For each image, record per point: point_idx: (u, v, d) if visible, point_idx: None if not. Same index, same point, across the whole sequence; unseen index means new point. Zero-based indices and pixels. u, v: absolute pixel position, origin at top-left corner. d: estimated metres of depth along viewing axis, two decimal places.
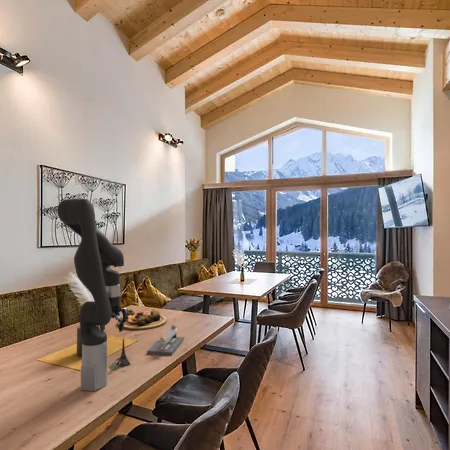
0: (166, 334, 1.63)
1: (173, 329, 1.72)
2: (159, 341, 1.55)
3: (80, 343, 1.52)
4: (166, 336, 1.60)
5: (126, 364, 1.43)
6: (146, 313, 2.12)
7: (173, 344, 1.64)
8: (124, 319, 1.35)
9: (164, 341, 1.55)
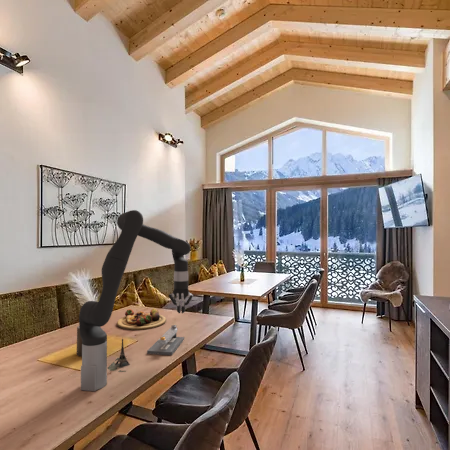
0: (166, 334, 1.63)
1: (173, 329, 1.72)
2: (159, 341, 1.55)
3: (80, 343, 1.52)
4: (166, 336, 1.60)
5: (125, 364, 1.43)
6: (145, 313, 2.12)
7: (173, 344, 1.64)
8: (186, 302, 1.59)
9: (164, 341, 1.55)
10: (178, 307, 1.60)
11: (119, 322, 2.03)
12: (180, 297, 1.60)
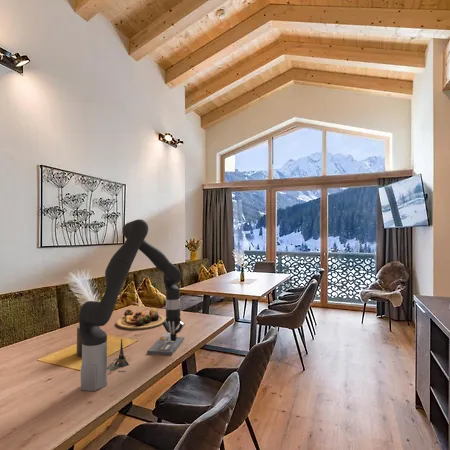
0: (166, 334, 1.63)
1: None
2: (158, 341, 1.55)
3: (80, 343, 1.52)
4: (165, 336, 1.60)
5: (124, 364, 1.43)
6: (144, 313, 2.12)
7: (173, 344, 1.64)
8: (176, 330, 1.59)
9: (163, 341, 1.55)
10: (171, 335, 1.60)
11: (118, 322, 2.03)
12: None
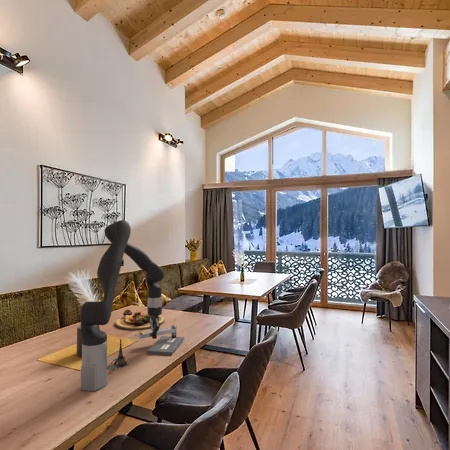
0: None
1: (169, 328, 1.73)
2: (137, 334, 1.65)
3: (80, 343, 1.52)
4: (149, 332, 1.67)
5: (123, 364, 1.43)
6: (144, 313, 2.12)
7: (173, 344, 1.64)
8: (153, 328, 1.62)
9: (139, 335, 1.63)
10: (152, 332, 1.65)
11: (117, 322, 2.03)
12: None
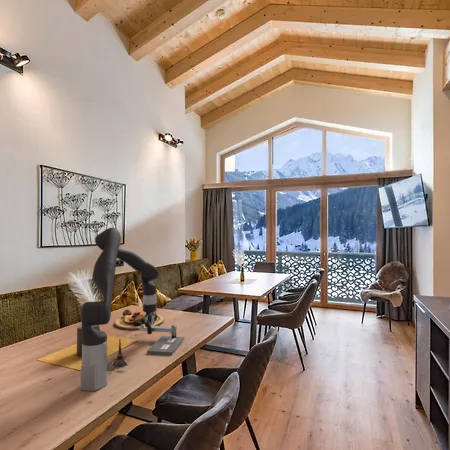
0: (154, 326, 1.77)
1: (168, 327, 1.75)
2: None
3: (80, 343, 1.52)
4: None
5: (123, 365, 1.43)
6: (143, 313, 2.12)
7: (173, 344, 1.64)
8: None
9: None
10: None
11: (116, 322, 2.03)
12: None
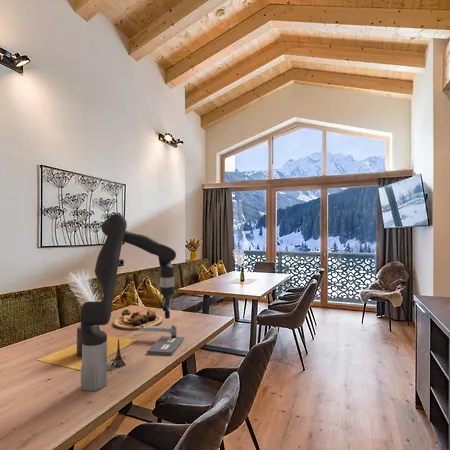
0: (154, 326, 1.77)
1: (168, 327, 1.75)
2: None
3: (80, 343, 1.52)
4: (149, 326, 1.76)
5: (121, 365, 1.42)
6: (142, 313, 2.12)
7: (173, 344, 1.64)
8: None
9: None
10: None
11: (115, 322, 2.03)
12: None
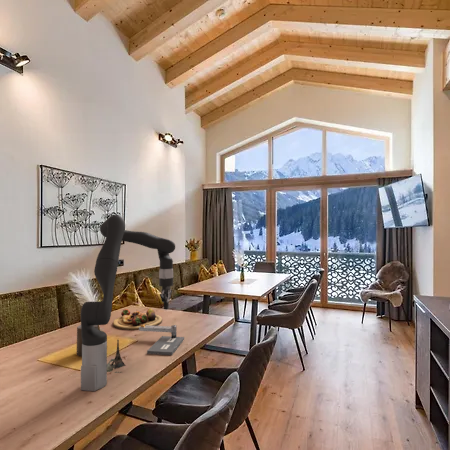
0: (154, 326, 1.77)
1: (168, 327, 1.75)
2: None
3: (80, 343, 1.52)
4: (149, 326, 1.76)
5: (121, 365, 1.42)
6: (141, 313, 2.12)
7: (173, 344, 1.64)
8: None
9: None
10: None
11: (115, 322, 2.03)
12: None
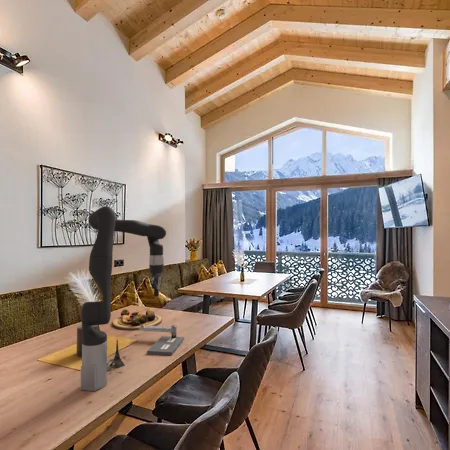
0: (154, 326, 1.77)
1: (168, 327, 1.75)
2: None
3: (80, 343, 1.52)
4: (149, 326, 1.76)
5: (120, 365, 1.42)
6: (141, 313, 2.12)
7: (173, 344, 1.64)
8: None
9: None
10: None
11: (114, 322, 2.03)
12: None
